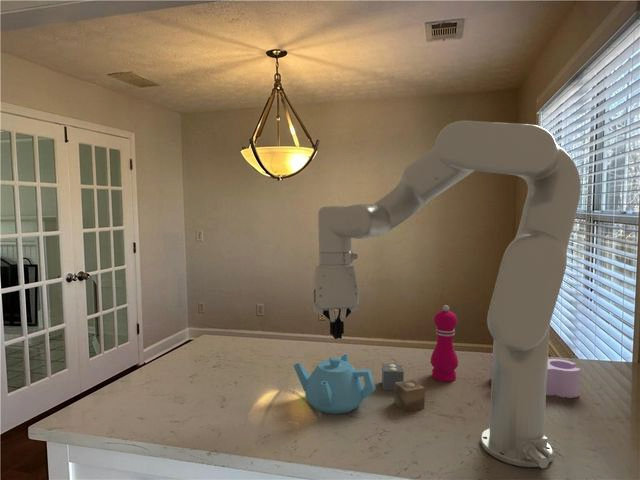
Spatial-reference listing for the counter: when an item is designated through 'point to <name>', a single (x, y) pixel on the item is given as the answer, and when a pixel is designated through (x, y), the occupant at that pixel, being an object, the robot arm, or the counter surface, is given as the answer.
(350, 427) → the counter surface
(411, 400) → the walnut block
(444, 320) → the pepper mill
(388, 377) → the charcoal block
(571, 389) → the clip
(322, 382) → the teapot
